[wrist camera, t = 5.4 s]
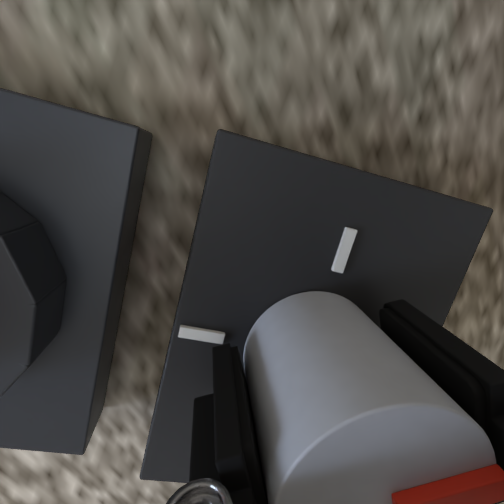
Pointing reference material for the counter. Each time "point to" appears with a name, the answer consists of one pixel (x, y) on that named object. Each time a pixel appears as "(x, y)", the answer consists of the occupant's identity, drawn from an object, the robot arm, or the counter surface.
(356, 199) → the timer panel
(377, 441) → the timer knob
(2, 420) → the block
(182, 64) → the counter surface
